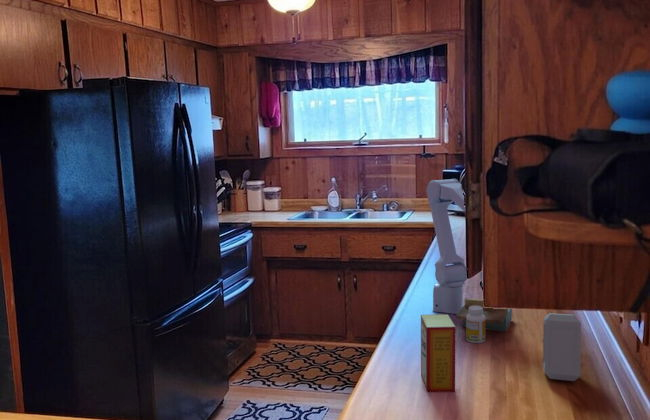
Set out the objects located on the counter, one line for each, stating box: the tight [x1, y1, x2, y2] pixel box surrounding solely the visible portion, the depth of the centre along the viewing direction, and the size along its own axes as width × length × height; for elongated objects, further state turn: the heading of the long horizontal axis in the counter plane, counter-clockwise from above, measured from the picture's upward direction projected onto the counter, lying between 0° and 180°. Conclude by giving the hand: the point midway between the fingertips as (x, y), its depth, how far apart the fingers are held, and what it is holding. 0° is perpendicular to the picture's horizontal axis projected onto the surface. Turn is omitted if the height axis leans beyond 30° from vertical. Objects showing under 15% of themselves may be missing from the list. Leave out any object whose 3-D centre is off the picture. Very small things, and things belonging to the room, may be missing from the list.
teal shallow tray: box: [461, 308, 513, 332], centre depth 183 cm, size 13×11×4 cm
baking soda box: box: [420, 313, 456, 393], centre depth 140 cm, size 10×6×16 cm
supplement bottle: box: [465, 306, 486, 344], centre depth 168 cm, size 5×5×10 cm
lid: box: [455, 297, 508, 324], centre depth 175 cm, size 13×11×4 cm
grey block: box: [542, 312, 582, 382], centre depth 152 cm, size 15×8×30 cm
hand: (489, 304), depth 180 cm, fingers closed
